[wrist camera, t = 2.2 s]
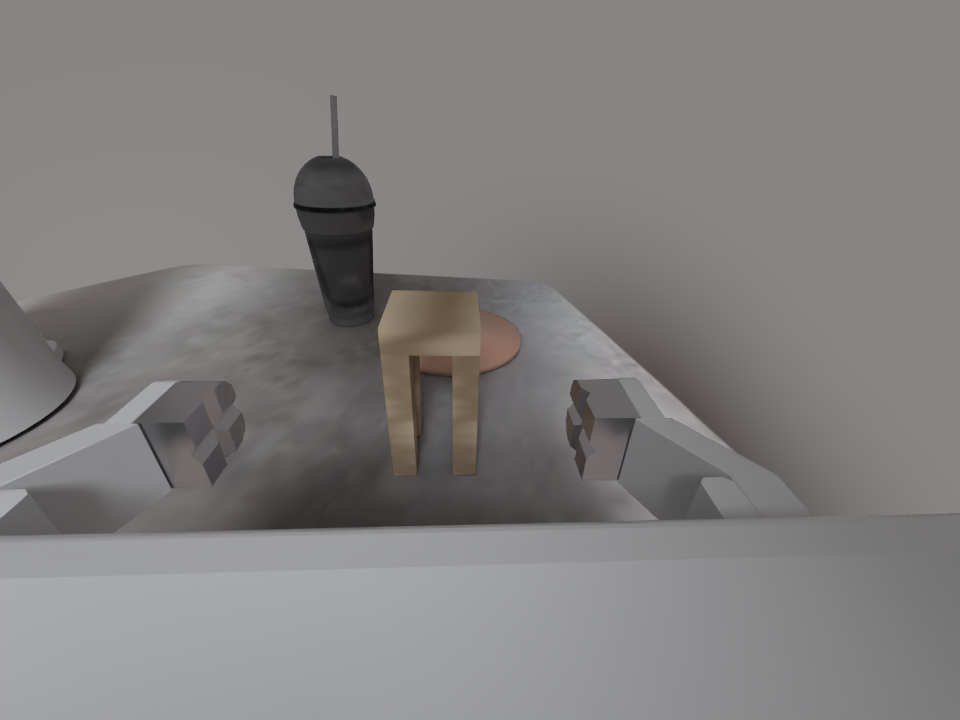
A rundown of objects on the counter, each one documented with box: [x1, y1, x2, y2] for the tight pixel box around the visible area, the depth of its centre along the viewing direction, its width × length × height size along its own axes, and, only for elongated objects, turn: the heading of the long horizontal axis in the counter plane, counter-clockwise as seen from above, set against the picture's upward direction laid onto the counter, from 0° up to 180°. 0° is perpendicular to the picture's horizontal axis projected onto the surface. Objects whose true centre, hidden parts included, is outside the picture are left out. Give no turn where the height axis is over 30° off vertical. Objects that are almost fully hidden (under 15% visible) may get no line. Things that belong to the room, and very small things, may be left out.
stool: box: [378, 290, 481, 476], centre depth 24 cm, size 5×5×10 cm
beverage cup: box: [294, 95, 376, 327], centre depth 38 cm, size 7×7×20 cm
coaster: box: [420, 310, 521, 376], centre depth 40 cm, size 13×13×1 cm
